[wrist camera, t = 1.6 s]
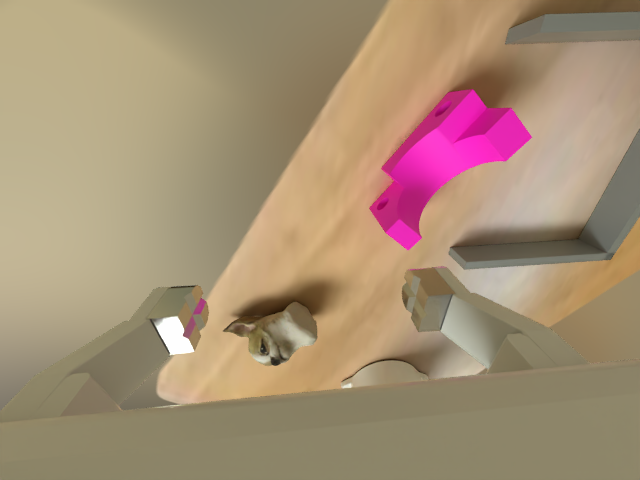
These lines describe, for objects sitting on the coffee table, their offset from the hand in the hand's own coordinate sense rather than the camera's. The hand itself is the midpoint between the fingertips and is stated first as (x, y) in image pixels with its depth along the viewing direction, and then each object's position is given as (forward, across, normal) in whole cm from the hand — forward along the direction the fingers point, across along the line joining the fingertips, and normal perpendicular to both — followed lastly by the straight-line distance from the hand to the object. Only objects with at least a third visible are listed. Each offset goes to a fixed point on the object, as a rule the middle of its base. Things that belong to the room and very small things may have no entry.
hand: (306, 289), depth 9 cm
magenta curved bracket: (+22, -14, +1) cm, 26 cm away
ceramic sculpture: (+22, +6, +26) cm, 34 cm away
